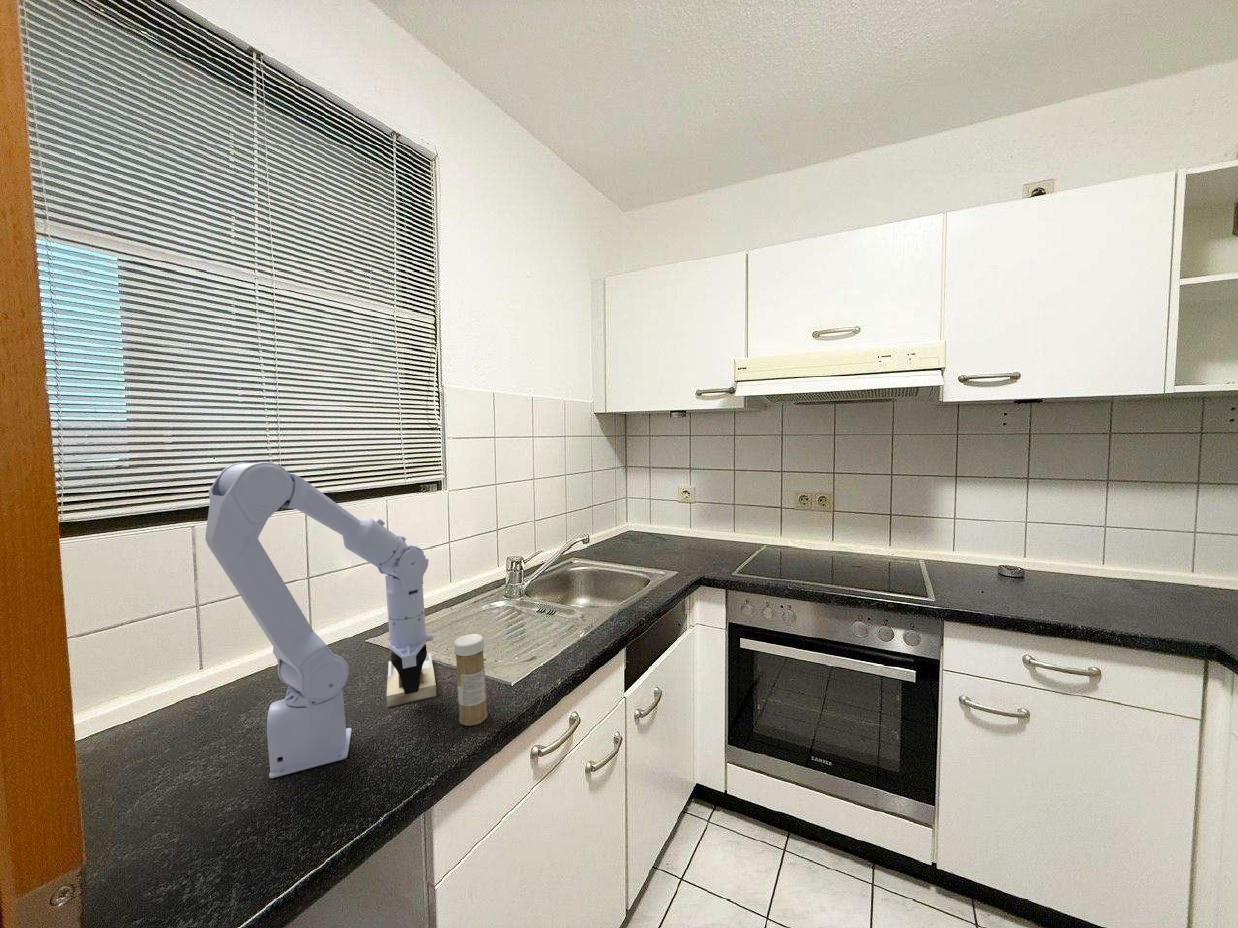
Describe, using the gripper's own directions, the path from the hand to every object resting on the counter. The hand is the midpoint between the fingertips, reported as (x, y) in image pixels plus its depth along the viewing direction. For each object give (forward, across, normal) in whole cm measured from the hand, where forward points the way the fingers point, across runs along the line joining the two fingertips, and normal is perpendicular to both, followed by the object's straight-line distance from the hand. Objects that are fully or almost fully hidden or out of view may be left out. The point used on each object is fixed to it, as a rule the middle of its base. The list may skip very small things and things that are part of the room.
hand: (411, 691), depth 85 cm
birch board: (+3, +6, 0) cm, 6 cm away
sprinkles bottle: (+3, -9, -9) cm, 13 cm away
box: (+3, +14, 0) cm, 14 cm away
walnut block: (+1, +6, 0) cm, 6 cm away
